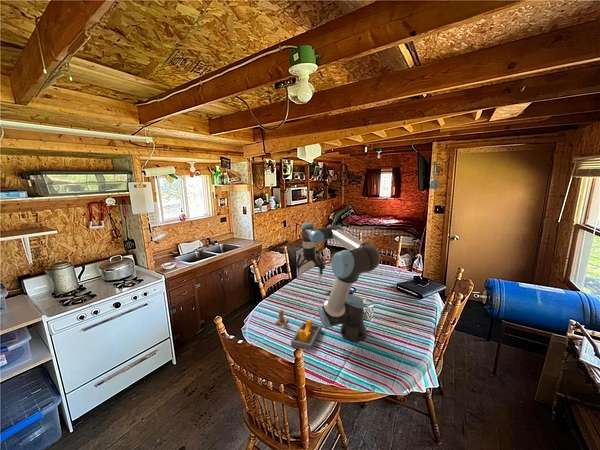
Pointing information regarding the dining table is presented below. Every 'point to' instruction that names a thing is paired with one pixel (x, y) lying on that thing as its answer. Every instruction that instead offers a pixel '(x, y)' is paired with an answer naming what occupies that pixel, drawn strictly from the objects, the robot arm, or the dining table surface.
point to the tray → (311, 341)
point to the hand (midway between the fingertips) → (310, 277)
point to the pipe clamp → (305, 332)
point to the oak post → (281, 318)
